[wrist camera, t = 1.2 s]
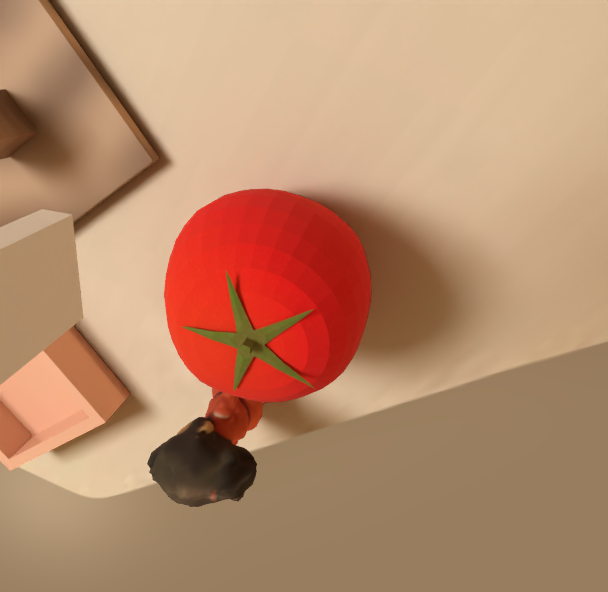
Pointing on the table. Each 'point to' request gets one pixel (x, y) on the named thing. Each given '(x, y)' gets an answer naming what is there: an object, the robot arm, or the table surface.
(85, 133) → the lid
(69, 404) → the dish
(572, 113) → the table surface
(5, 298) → the robot arm
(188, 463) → the figurine
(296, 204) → the tomato
